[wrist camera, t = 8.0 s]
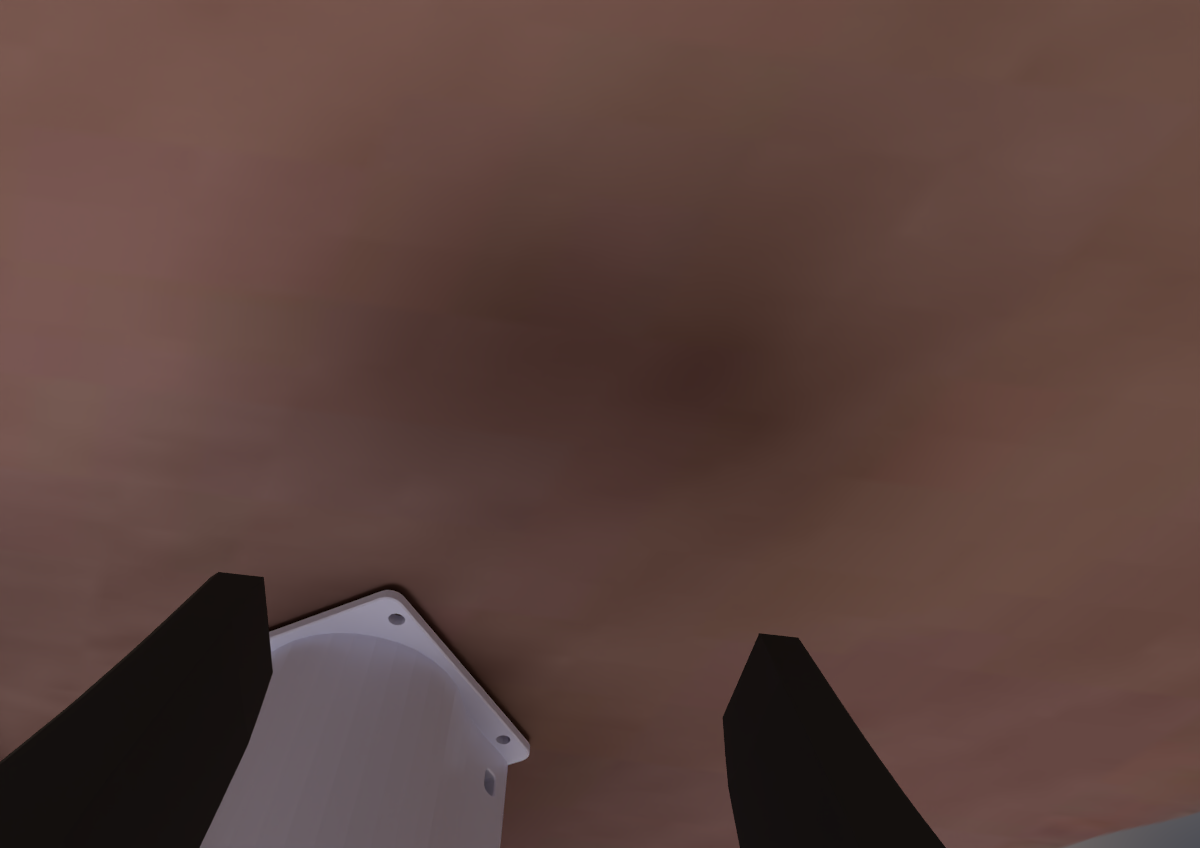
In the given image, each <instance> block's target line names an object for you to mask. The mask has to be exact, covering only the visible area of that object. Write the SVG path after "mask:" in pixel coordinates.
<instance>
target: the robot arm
mask: <svg viewBox="0 0 1200 848" xmlns="http://www.w3.org/2000/svg"><path fill="white" fill-rule="evenodd" d="M395 614H400V615H402V616H399V615H395ZM723 728H724V742H725V756H726V766H727V777H728V787H729V793H730V798H731V803H732V809H733V814H734V819H735V824H736V829H737V834H738V840H739V845H740V848H946V847H945V846H944V845H943V844H942V842H941V841H940V840H939V838H938V837H937V836H936V834H935V833H934V832H933V831H932V829H931V828H930V827H929V825H928V824H927V823H926V822H925V820H924V819H923V818H922V816H921V815H920V814H919V812H918V811H917V810H916V808H915V807H914V806H913V804H912V803H911V802H910V800H909V799H908V798H907V796H906V795H905V794H904V792H903V791H902V789H901V788H900V787H899V785H898V784H897V782H896V781H895V780H894V778H893V777H892V775H891V774H890V773H889V771H888V770H887V768H886V767H885V766H884V764H883V763H882V761H881V760H880V759H879V757H878V756H877V754H876V753H875V751H874V750H873V749H872V747H871V746H870V744H869V743H868V741H867V740H866V739H865V737H864V736H863V734H862V733H861V731H860V730H859V728H858V727H857V725H856V724H855V722H854V721H853V719H852V718H851V716H850V715H849V713H848V712H847V710H846V709H845V708H844V706H843V705H842V703H841V702H840V700H839V699H838V697H837V695H836V694H835V692H834V691H833V689H832V688H831V686H830V685H829V683H828V682H827V680H826V679H825V677H824V676H823V674H822V673H821V671H820V670H819V668H818V667H817V665H816V664H815V662H814V661H813V659H812V658H811V656H810V655H809V653H808V652H807V650H806V649H805V647H804V646H803V644H802V643H801V641H800V640H799V638H795V637H786V636H778V635H769V634H760V633H759V635H758V638H757V640H756V642H755V645H754V647H753V649H752V651H751V654H750V656H749V658H748V661H747V663H746V665H745V667H744V670H743V672H742V674H741V677H740V679H739V681H738V684H737V686H736V688H735V690H734V693H733V695H732V697H731V700H730V702H729V704H728V706H727V709H726V711H725V713H724V716H723ZM529 753H530V744H529V742H528V741H527V740H526V739H525V738H524V736H523V735H522V734H521V733H520V732H519V730H518V729H517V728H516V727H515V726H514V725H513V723H512V722H511V721H510V720H509V719H508V718H507V716H506V715H505V714H504V713H503V712H502V711H501V709H500V708H499V707H498V706H497V705H496V704H495V702H494V701H493V700H492V699H491V698H490V697H489V695H488V694H487V693H486V692H485V691H484V690H483V688H482V687H481V686H480V685H479V684H478V683H477V681H476V680H475V679H474V678H473V677H472V676H471V674H470V673H469V672H468V671H467V670H466V668H465V667H464V666H463V665H462V664H461V663H460V661H459V660H458V659H457V658H456V657H455V656H454V654H453V653H452V652H451V651H450V650H449V649H448V647H447V646H446V645H445V644H444V643H443V642H442V640H441V639H440V638H439V637H438V636H437V635H436V633H435V632H434V631H433V630H432V629H431V628H430V626H429V625H428V624H427V623H426V622H425V621H424V619H423V618H422V617H421V616H420V615H419V614H418V612H417V611H416V610H415V609H414V608H413V606H412V605H411V604H410V603H409V602H408V601H407V599H406V598H405V597H404V596H403V595H402V594H400V593H399V592H396V591H394V590H384V591H380V592H377V593H374V594H372V595H369V596H366V597H363V598H361V599H358V600H355V601H353V602H350V603H347V604H344V605H342V606H339V607H336V608H333V609H331V610H328V611H325V612H322V613H320V614H317V615H314V616H311V617H309V618H306V619H303V620H300V621H298V622H295V623H292V624H289V625H287V626H284V627H281V628H278V629H276V630H273V631H270V632H269V627H268V616H267V606H266V596H265V585H264V577H257V576H248V575H240V574H231V573H222V572H218V573H216V574H215V575H213V576H212V577H210V578H209V579H208V580H207V581H206V582H205V583H204V584H203V585H202V586H201V587H200V588H199V589H198V590H197V591H196V592H195V593H194V594H193V595H191V596H190V597H189V598H188V599H187V600H186V601H185V602H184V603H183V604H182V605H181V606H180V607H179V608H178V609H177V610H176V611H175V612H173V613H172V614H171V615H170V616H169V617H168V618H167V619H166V620H165V621H164V622H163V623H162V624H161V625H160V626H159V627H157V628H156V629H155V630H154V631H153V632H152V633H151V634H150V635H149V636H148V637H147V638H145V639H144V640H143V641H142V642H141V643H140V644H139V645H138V646H137V647H136V648H134V649H133V650H132V651H131V652H130V653H129V654H128V655H127V656H126V657H124V658H123V659H122V660H121V661H120V662H119V663H118V664H116V665H115V666H114V667H113V668H112V669H111V670H110V671H108V672H107V673H106V674H105V675H104V676H103V677H102V678H101V679H99V680H98V681H97V682H96V683H95V684H94V685H93V686H91V687H90V688H89V689H88V690H87V691H86V692H85V693H83V694H82V695H81V696H80V697H79V698H78V699H76V700H75V701H74V702H73V703H72V704H71V705H69V706H68V707H67V708H66V709H65V710H63V711H62V712H61V713H60V714H59V715H57V716H56V717H55V718H54V719H52V720H51V721H50V722H49V723H47V724H46V725H45V726H44V727H43V728H41V729H40V730H39V731H38V732H36V733H35V734H34V735H33V736H31V737H30V738H29V739H28V740H27V741H25V742H24V743H23V744H22V745H20V746H19V747H18V748H17V749H15V750H14V751H13V752H12V753H10V754H9V755H8V756H7V757H6V758H4V759H3V760H2V761H1V762H0V848H500V844H501V834H502V823H503V813H504V802H505V792H506V781H507V771H508V765H510V764H513V763H516V762H520V761H523V760H525V759H527V757H528V756H529Z"/></svg>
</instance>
